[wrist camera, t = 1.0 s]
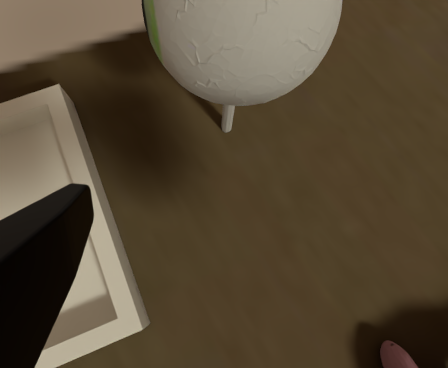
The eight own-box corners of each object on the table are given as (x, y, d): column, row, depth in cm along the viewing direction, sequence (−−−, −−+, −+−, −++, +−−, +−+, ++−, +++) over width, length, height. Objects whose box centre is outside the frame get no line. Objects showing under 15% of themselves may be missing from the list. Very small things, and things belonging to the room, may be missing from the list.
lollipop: (166, 86, 25) (109, -175, 11) (268, 73, 26) (347, -190, 11) (180, 186, 23) (134, 42, 9) (289, 171, 24) (412, 10, 9)
